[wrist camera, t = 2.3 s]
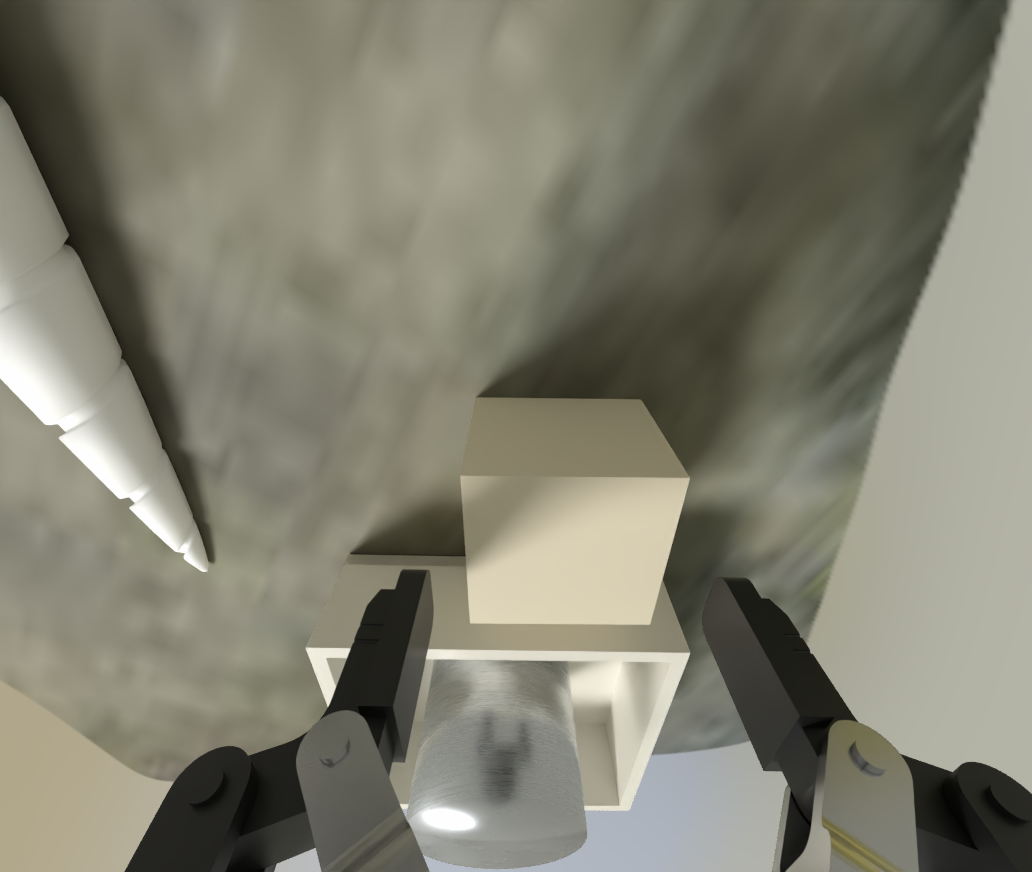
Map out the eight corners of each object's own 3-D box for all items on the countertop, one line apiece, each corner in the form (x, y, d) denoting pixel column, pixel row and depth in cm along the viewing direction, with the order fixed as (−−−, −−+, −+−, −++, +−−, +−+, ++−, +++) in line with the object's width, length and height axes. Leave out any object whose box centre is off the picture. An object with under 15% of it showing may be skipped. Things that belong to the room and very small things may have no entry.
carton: (475, 395, 15) (460, 475, 11) (640, 397, 15) (690, 478, 11) (480, 521, 18) (469, 623, 14) (617, 522, 18) (649, 624, 14)
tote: (348, 554, 19) (305, 647, 15) (654, 559, 19) (690, 652, 15) (388, 716, 26) (366, 808, 22) (612, 718, 26) (629, 810, 22)
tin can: (429, 616, 20) (392, 797, 14) (573, 618, 20) (597, 799, 14) (439, 696, 24) (413, 868, 18) (562, 697, 24) (577, 869, 18)
